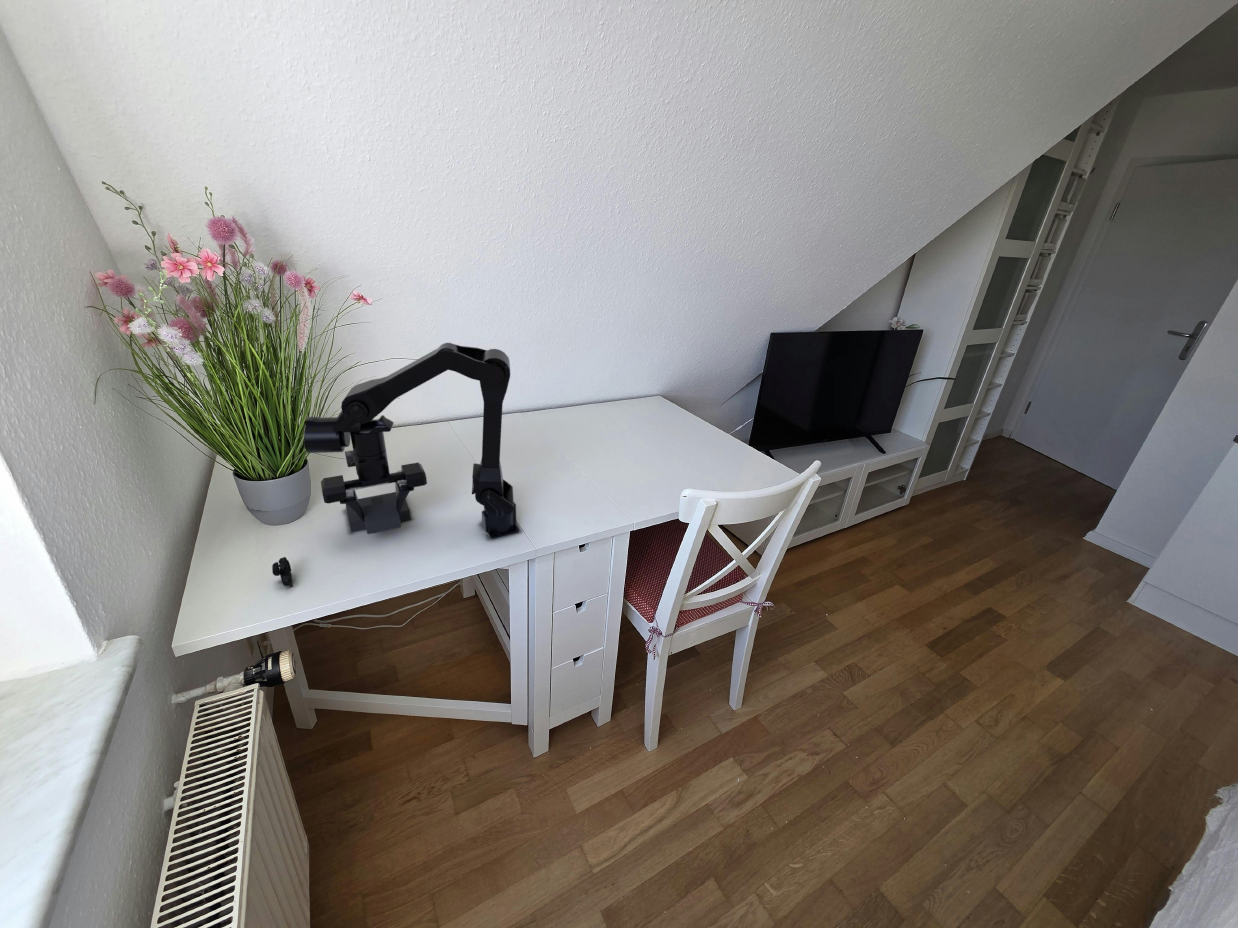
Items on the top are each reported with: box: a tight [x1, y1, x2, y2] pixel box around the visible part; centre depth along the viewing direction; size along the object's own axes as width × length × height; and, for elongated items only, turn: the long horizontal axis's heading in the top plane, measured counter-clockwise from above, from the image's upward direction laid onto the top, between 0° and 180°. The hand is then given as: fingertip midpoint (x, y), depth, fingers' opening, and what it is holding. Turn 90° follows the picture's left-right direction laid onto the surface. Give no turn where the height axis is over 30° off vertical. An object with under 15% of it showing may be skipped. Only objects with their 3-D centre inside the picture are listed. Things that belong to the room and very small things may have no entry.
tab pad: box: [362, 497, 402, 535], centre depth 107 cm, size 6×9×2 cm
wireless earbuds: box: [271, 556, 294, 588], centre depth 93 cm, size 7×2×5 cm, turn 32°
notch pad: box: [345, 491, 411, 533], centre depth 114 cm, size 12×9×2 cm
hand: (381, 516), depth 106 cm, fingers closed on tab pad, 6 cm apart
